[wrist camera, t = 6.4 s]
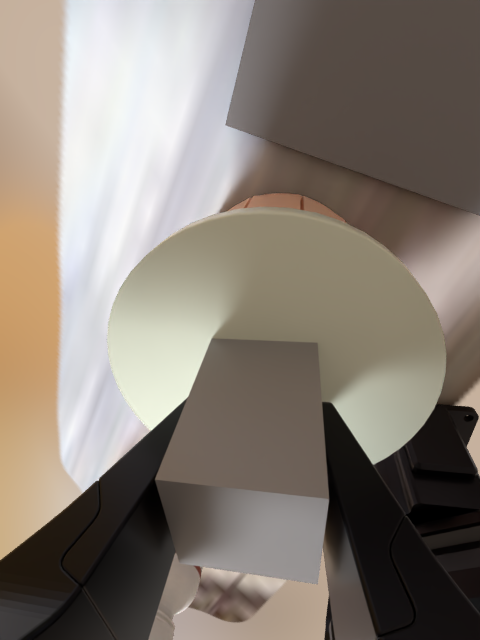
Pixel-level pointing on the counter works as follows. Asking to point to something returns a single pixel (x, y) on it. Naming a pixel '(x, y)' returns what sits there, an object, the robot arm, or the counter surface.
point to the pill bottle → (175, 598)
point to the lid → (269, 375)
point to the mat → (369, 89)
